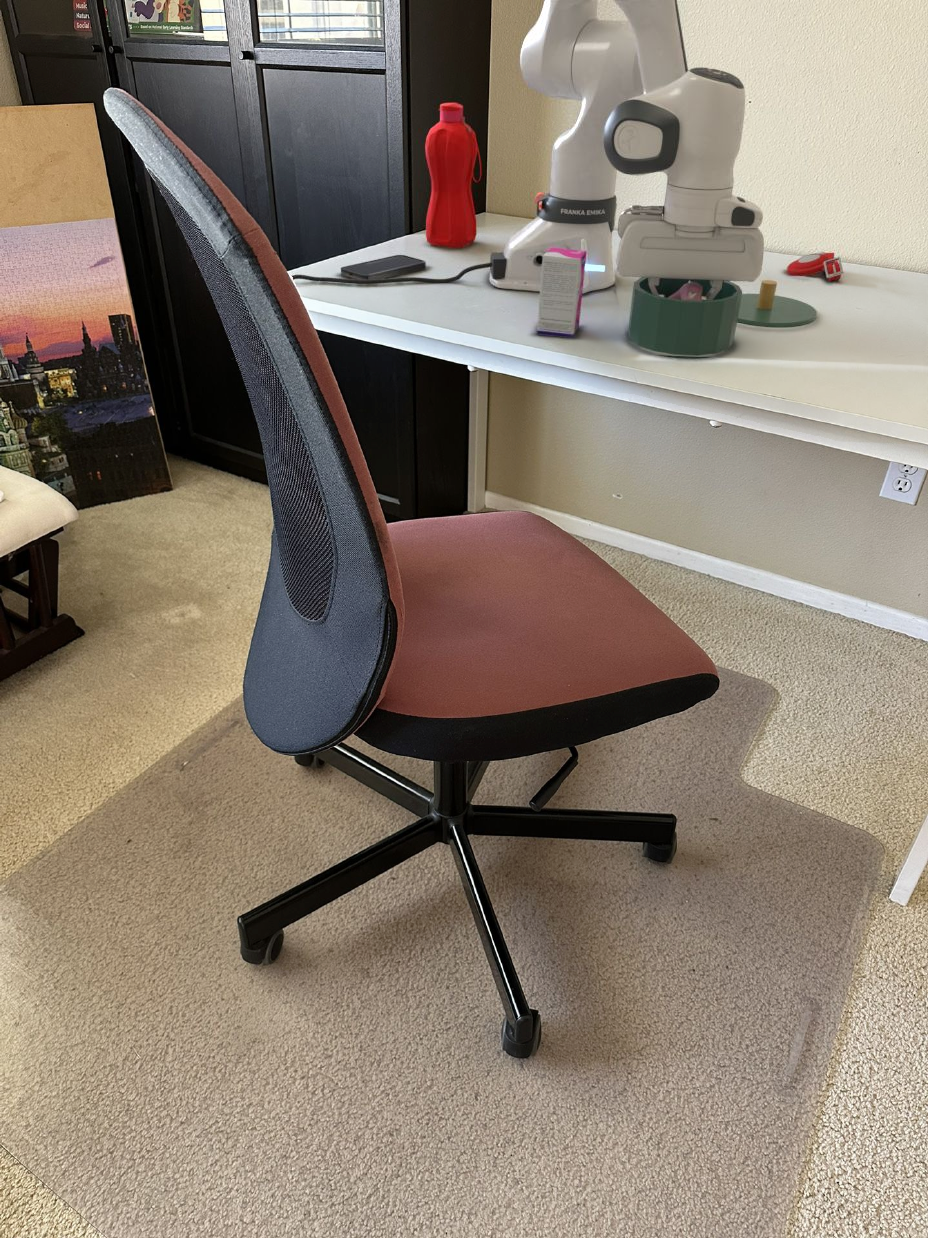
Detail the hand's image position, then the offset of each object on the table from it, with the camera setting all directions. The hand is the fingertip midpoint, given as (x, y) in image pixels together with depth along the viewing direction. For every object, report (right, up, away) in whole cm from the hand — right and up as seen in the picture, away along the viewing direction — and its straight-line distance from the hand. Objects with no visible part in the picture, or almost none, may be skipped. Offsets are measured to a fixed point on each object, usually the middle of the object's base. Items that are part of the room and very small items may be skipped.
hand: (680, 309), depth 131 cm
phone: (-46, +19, +34) cm, 60 cm away
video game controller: (0, -2, +1) cm, 2 cm away
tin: (0, -4, +3) cm, 5 cm away
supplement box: (-17, -1, +7) cm, 18 cm away
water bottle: (-34, +31, +52) cm, 69 cm away
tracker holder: (+33, +17, +34) cm, 50 cm away
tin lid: (+17, +4, +14) cm, 22 cm away
